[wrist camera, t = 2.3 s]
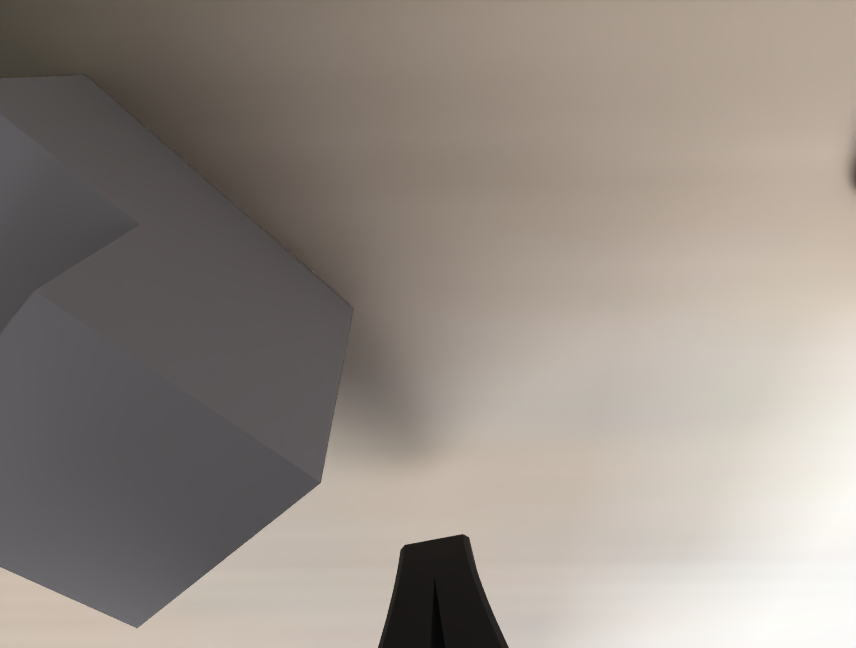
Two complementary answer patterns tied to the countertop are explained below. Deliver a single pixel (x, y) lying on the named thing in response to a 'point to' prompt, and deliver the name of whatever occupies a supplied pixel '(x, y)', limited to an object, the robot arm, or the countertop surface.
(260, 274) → the grey faceted block
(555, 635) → the countertop surface
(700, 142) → the countertop surface
